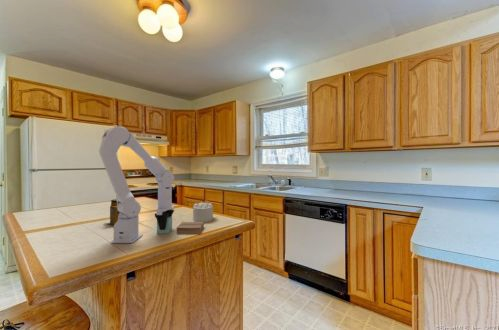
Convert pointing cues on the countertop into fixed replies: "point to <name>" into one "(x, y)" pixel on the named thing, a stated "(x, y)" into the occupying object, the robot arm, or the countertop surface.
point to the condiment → (113, 214)
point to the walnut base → (190, 228)
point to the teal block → (168, 226)
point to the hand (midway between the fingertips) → (164, 227)
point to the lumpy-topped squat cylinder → (202, 212)
